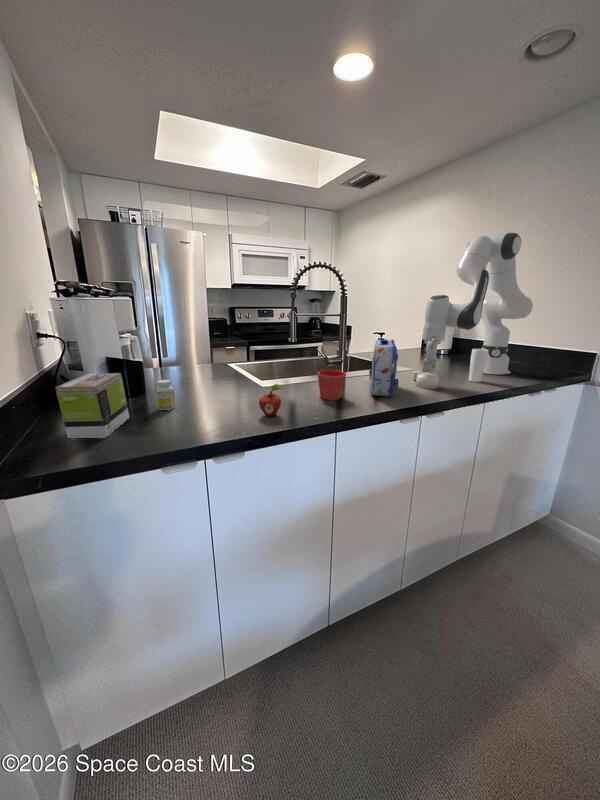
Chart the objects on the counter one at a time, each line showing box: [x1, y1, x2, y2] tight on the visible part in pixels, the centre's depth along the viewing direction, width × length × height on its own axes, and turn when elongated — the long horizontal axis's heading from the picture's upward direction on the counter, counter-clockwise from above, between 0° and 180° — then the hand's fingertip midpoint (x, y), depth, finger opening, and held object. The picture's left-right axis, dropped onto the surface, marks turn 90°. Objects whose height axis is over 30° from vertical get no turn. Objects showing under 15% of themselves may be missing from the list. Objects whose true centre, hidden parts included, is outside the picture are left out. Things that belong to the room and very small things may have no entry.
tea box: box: [54, 372, 130, 439], centre depth 88 cm, size 15×10×15 cm, turn 5°
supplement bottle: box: [155, 379, 176, 411], centre depth 106 cm, size 5×5×10 cm
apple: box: [258, 383, 282, 417], centre depth 101 cm, size 8×7×10 cm
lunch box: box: [369, 338, 399, 398], centre depth 128 cm, size 28×10×22 cm, turn 168°
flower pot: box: [317, 369, 347, 401], centre depth 121 cm, size 11×11×10 cm
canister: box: [415, 372, 440, 390], centre depth 140 cm, size 9×9×5 cm
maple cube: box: [421, 358, 437, 374], centre depth 138 cm, size 5×5×5 cm
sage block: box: [410, 370, 423, 381], centre depth 151 cm, size 4×4×4 cm
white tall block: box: [468, 348, 489, 383], centre depth 148 cm, size 7×7×15 cm
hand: (429, 367), depth 138 cm, fingers closed on maple cube, 5 cm apart
